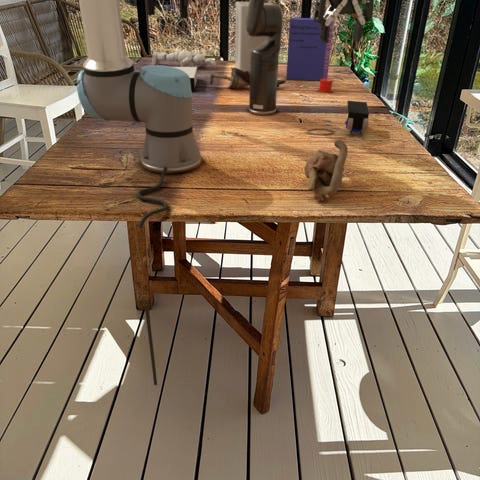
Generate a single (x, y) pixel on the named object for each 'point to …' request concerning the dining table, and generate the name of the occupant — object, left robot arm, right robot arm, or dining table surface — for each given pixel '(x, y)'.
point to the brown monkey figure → (326, 171)
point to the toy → (181, 58)
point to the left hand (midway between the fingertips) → (167, 16)
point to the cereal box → (307, 50)
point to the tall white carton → (244, 38)
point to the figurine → (239, 78)
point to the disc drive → (190, 75)
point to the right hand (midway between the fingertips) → (340, 42)
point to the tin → (325, 85)
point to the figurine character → (357, 116)
